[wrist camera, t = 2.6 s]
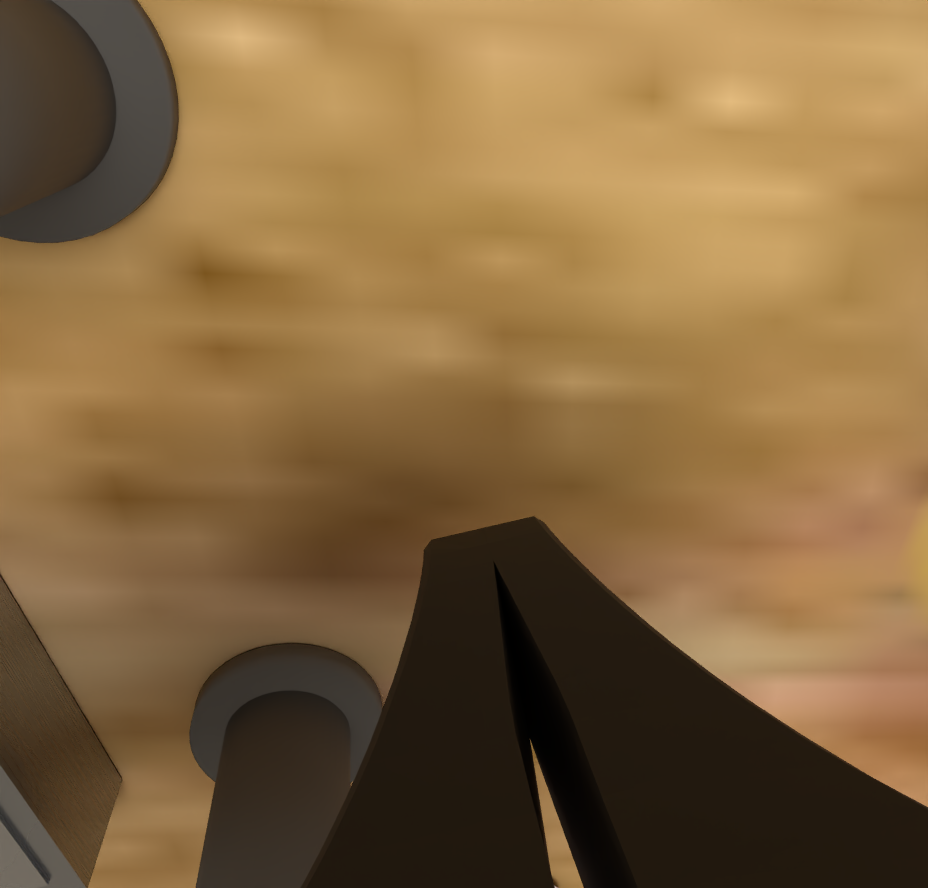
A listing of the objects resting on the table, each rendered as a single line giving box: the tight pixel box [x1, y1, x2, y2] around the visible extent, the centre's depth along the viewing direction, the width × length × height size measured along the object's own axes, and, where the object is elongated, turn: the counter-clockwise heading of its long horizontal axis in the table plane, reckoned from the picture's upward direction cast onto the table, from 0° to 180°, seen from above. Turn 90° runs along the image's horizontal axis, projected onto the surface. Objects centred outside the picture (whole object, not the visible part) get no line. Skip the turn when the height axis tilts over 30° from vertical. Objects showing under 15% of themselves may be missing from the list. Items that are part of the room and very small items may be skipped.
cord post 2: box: [189, 644, 382, 888], centre depth 13 cm, size 4×4×7 cm
